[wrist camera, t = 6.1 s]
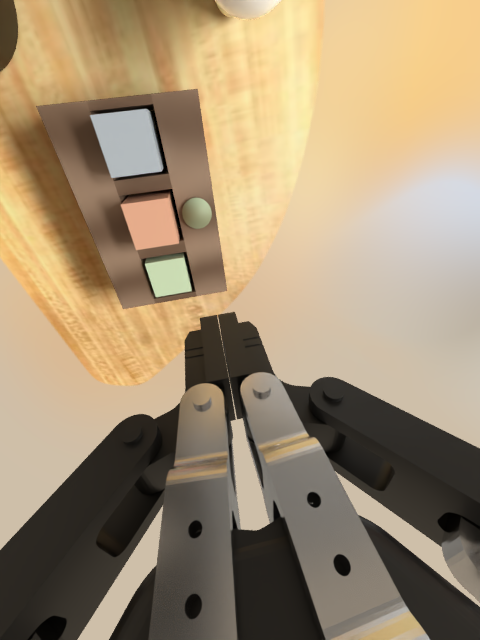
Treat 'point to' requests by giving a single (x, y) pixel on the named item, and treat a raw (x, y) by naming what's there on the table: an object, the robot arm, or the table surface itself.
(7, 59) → the mug
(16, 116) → the table surface
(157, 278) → the sage button
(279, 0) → the lightbulb
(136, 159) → the slate button
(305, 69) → the table surface
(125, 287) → the console
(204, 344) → the robot arm
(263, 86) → the table surface
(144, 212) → the terracotta button
